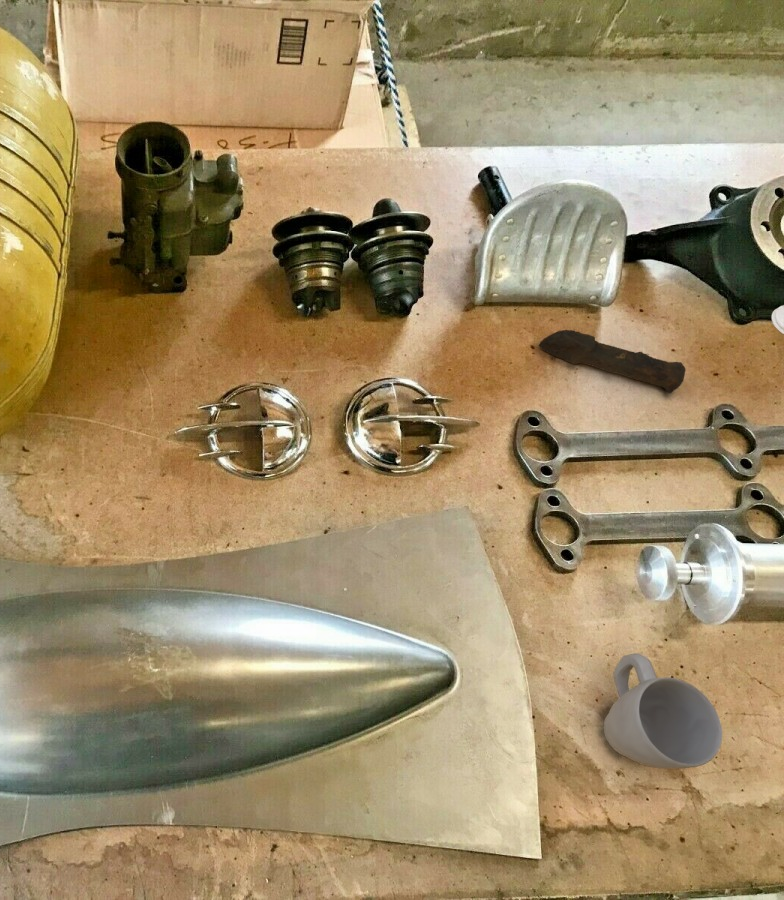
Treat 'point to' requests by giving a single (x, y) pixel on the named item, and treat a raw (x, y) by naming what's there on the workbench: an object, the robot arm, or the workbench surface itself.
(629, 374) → the hand tool
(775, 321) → the chess piece
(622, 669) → the mug
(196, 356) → the workbench surface
